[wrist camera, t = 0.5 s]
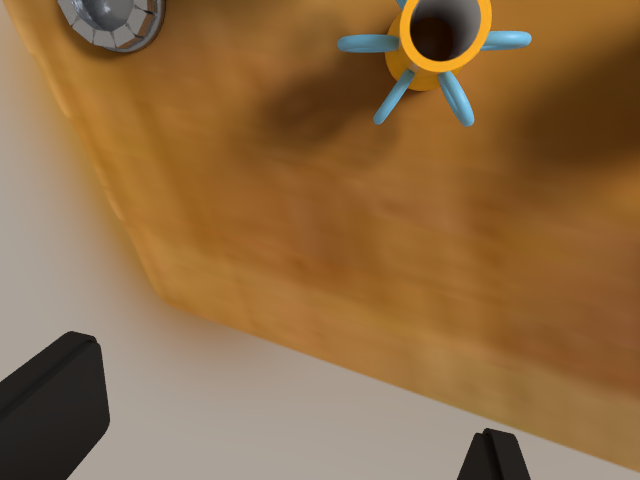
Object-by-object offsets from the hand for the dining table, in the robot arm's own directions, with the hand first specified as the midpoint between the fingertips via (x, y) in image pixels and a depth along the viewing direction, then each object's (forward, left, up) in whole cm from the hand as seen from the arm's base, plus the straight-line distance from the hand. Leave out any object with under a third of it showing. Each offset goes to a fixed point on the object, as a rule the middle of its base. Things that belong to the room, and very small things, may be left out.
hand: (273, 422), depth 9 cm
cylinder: (-11, +3, -29) cm, 31 cm away
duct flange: (-12, -24, -29) cm, 39 cm away
